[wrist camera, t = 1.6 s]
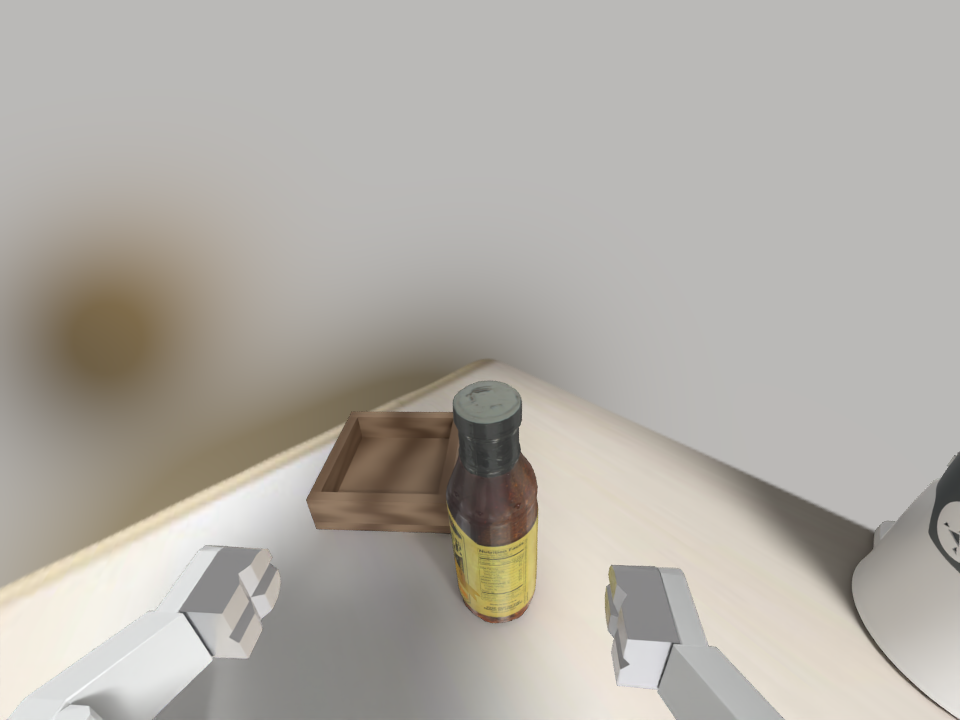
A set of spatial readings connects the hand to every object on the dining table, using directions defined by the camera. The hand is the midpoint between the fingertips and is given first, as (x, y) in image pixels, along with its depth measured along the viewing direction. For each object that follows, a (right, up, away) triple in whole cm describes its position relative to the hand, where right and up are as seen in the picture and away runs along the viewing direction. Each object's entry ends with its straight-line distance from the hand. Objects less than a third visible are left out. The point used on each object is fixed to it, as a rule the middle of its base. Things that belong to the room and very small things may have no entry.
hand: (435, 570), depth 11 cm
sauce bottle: (+3, -14, +26) cm, 30 cm away
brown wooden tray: (-8, -8, +37) cm, 39 cm away
